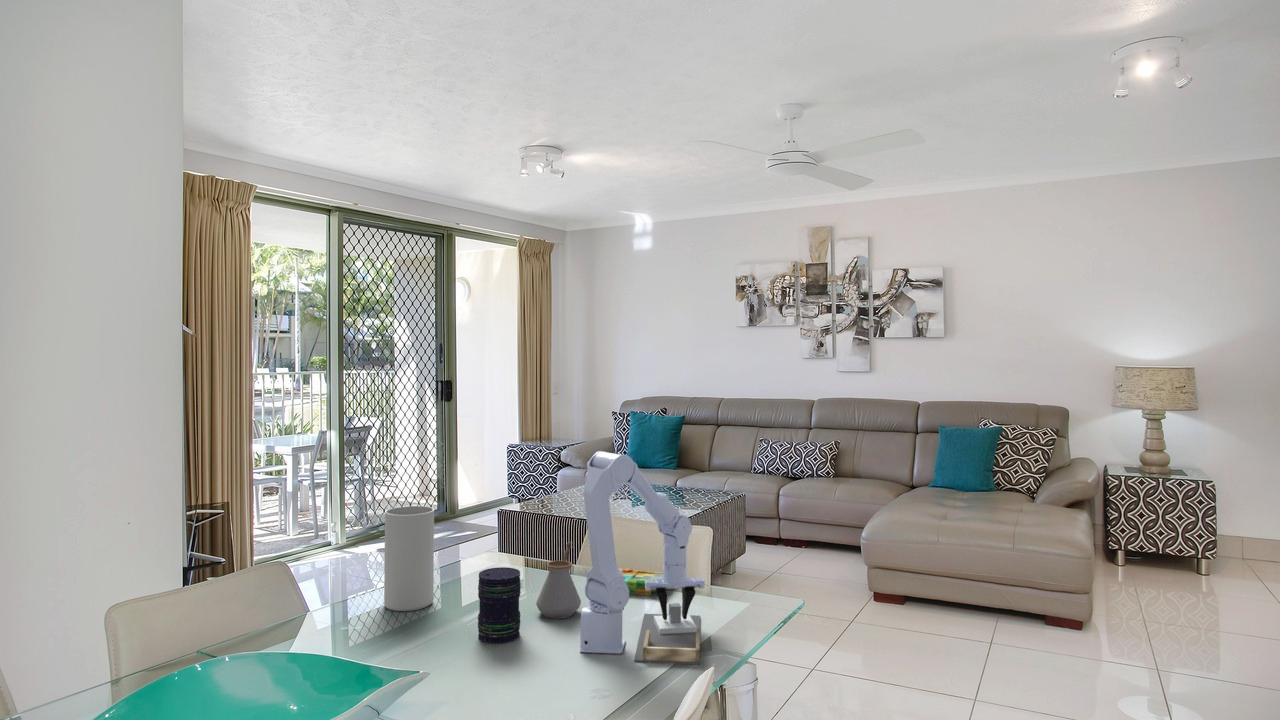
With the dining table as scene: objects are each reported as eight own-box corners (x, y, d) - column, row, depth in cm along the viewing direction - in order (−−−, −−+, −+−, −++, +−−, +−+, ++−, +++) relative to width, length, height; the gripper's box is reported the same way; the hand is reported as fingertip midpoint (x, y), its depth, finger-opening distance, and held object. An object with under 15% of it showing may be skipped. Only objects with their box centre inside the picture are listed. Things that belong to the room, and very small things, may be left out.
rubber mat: (634, 661, 159) (634, 660, 159) (644, 615, 189) (644, 613, 189) (699, 664, 158) (699, 662, 158) (699, 617, 187) (699, 615, 187)
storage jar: (515, 626, 180) (516, 565, 180) (524, 641, 170) (524, 576, 171) (474, 631, 176) (475, 569, 176) (481, 646, 167) (481, 580, 167)
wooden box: (642, 661, 159) (643, 647, 159) (646, 642, 170) (646, 629, 170) (699, 663, 158) (699, 650, 158) (699, 644, 169) (699, 631, 169)
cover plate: (659, 633, 175) (659, 611, 175) (653, 620, 183) (653, 599, 183) (696, 632, 176) (696, 610, 176) (688, 619, 185) (689, 598, 185)
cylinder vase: (374, 610, 191) (375, 513, 191) (401, 595, 203) (401, 504, 203) (417, 614, 188) (418, 516, 188) (442, 599, 200) (442, 507, 200)
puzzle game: (607, 565, 219) (672, 570, 214) (607, 580, 219) (672, 587, 214) (593, 575, 208) (662, 582, 202) (593, 592, 208) (662, 599, 202)
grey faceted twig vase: (576, 622, 183) (576, 562, 183) (531, 620, 184) (531, 560, 184) (590, 595, 204) (591, 541, 204) (550, 593, 205) (550, 540, 206)
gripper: (648, 568, 175) (647, 625, 175) (707, 566, 177) (707, 622, 177) (643, 560, 182) (643, 615, 182) (701, 558, 184) (700, 612, 184)
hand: (674, 618), depth 180 cm, fingers open, 4 cm apart
